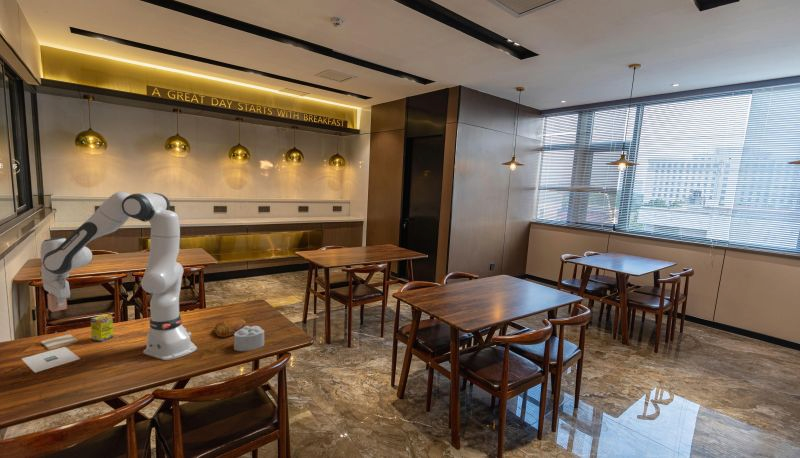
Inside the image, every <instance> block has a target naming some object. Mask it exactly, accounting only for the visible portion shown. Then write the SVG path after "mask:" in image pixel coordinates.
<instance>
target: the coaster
mask: <svg viewBox="0 0 800 458" xmlns="http://www.w3.org/2000/svg"><path fill="white" fill-rule="evenodd" d="M77 342H78V339H77V338H76V337H74V336H73V334H70V333H68V334H64V335H60V336H57V337H54V338H48V339H44V340H42V341H40V344H41V345H42V346H44V347H45V348H46V349H47V350H51V349H52V350H53V349H57V348H58V347H59V348H60V347H64V346H67V345H69V344H73V343H77Z"/></svg>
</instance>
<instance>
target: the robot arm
mask: <svg viewBox="0 0 800 458" xmlns="http://www.w3.org/2000/svg"><path fill="white" fill-rule="evenodd" d="M170 203H171V202H170V200H169V199H168V197H167V196H166V195H164V194H161V193H156V192H141V193H132V194H130V193H128V192H126V191H117V192H114V193H113V194H111V195H110V196H109V197H108V198H107V199H106V200H104V201H103V202H102V203H101V204H100V206H99V207H98V208H97V209H96V210H95V211H94V213H93V214H92V215H90V217H89V218H88V219H87V220H86V221H84V223H82V224H81V225H80V226H79V227H78V228H76V230H74V231H73V233H72V234H71V235H69V236H68V237H67V238H65V237H54V238H48V239H45V240H43V241H42V242H41V244H40V260H41V262H42V263H41V264H42V265H41V268H40V269H41V270H40V271H39V275H40V276H41V280H42V286H43V289H44V291H46V292H48V294H50V293H51V294H52V295H54V296H56V297H57V305H58V306H62V305H63V301H64V298H66V299H68V298H70V297H71V291H70V284H69V281H68V280H67V278H69V277H70V272H71V271H73V270H77V269H79V268H82V267H85V266H88V265H90V263H92V261H93V257H94V256H93V251H92V250H91V249H90V247H88V246H86V245H88V244H89V243H90V242H91V241H93V240H95V239H97V238H100V237H103V236H106V235H109V234H112V233H114V232H116V231H117V230H119V229H120V228H121V227H122V226H123V225H124V224H125V223H126V222H127V221H128V220H129V219H130V218H132V219H135V220H139V221H140V222H141V221H142V222H145V223H146V222H149V224H150V241H149V242H150V243H149V244H150V245H149V255H148V259H147V262H146V267H145V270H144V274H143V276H142V279H141V282H140V285H141V288H142V289H143V290H144V291H145V292H146V293H148V294H152V296H151V300H150V303H149V305H150V318H149V328H150V329H149V331H148V333H147V334H146V348H145V349H143V355H147V356H150V357H153V358H156V359H159V360H162V361H170V360H175V359H178V358H181V357H184V356H187V355H189V354H191V353H193V352H195V351H196V350H197V349H198V347H197V346H196V345H195V344H194V343H193V342H192V341H191V337H192V332H190V331H187V328H186V327H185V326H183V324H182V323H183V322H182V321H183V320H182V317H181V314H180V295H181V288H182V279H183V274H184V271H185V270H184V266H182V264H181V263H179V262H178V261H177V259H178V255H179V253H180V244H181V243H180V241H181V226H180V225H181V224H180V218H179V215H178V214H177V213H176V212H175V211H173V210H170V207H171V205H170Z"/></svg>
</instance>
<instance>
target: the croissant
mask: <svg viewBox="0 0 800 458" xmlns="http://www.w3.org/2000/svg"><path fill="white" fill-rule="evenodd" d="M244 326H248V325H247V322H246V321H245V320H244V319H242V318H240V317H235V316H234V317H227V318H224V319H221V320H220V321H218V322H217V323H216V325H215V326H214V331H213V332H214V333H215V334H216V335H217V336H218V337H220V338H227V337H230V336H234V334H235V332H237V331H238V330H240V329H242V328H243V327H244Z"/></svg>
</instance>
